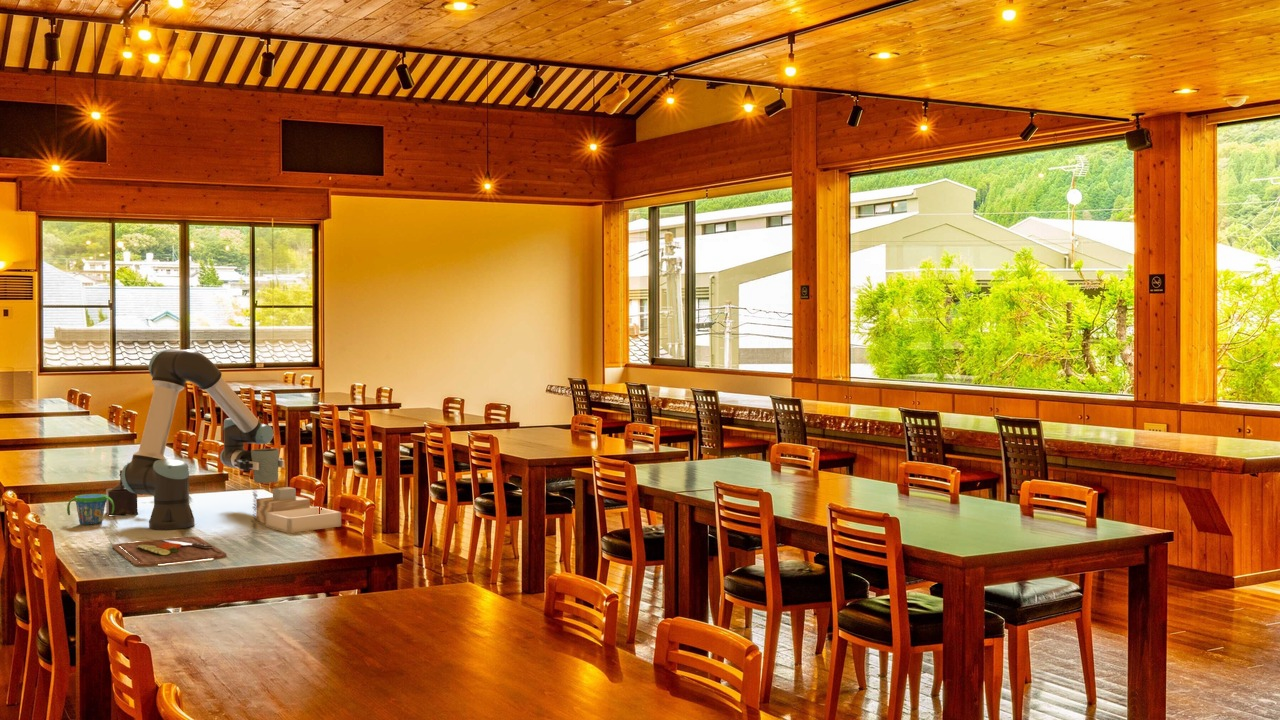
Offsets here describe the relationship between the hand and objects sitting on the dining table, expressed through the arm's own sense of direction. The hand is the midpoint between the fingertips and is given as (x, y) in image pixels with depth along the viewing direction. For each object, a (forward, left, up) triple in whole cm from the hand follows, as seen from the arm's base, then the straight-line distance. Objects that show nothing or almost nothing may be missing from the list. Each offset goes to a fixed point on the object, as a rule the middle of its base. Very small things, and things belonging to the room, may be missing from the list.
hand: (270, 465), depth 443 cm
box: (-7, -25, -19) cm, 33 cm away
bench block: (-3, -10, -19) cm, 22 cm away
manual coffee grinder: (-22, +55, -20) cm, 62 cm away
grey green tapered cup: (+1, +4, -7) cm, 8 cm away
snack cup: (-44, +45, -20) cm, 66 cm away
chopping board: (-62, -25, -20) cm, 70 cm away
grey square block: (-3, -11, -11) cm, 16 cm away
